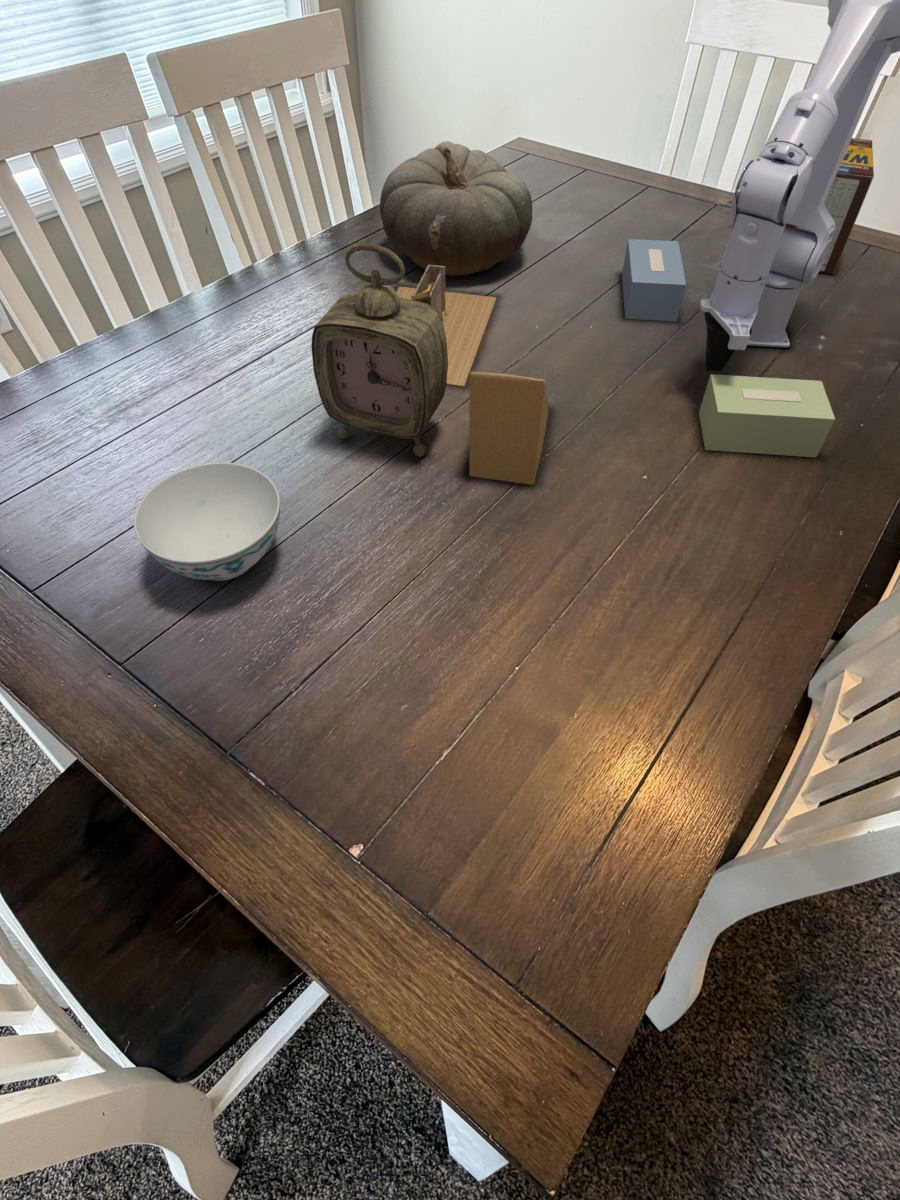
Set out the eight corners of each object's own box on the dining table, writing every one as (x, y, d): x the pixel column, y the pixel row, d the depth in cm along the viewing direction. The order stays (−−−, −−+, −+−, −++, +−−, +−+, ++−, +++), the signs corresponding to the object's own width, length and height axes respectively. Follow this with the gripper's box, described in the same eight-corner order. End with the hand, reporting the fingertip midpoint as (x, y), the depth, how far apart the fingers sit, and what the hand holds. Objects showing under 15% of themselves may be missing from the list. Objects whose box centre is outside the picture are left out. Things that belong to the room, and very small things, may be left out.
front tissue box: (698, 412, 99) (710, 373, 94) (804, 419, 98) (822, 379, 93) (704, 450, 94) (718, 410, 89) (816, 457, 93) (836, 418, 88)
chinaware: (228, 631, 76) (209, 583, 70) (128, 574, 81) (102, 525, 75) (318, 543, 84) (308, 493, 78) (222, 496, 89) (205, 445, 83)
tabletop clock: (325, 442, 95) (293, 251, 76) (354, 403, 101) (331, 215, 81) (428, 467, 92) (422, 274, 73) (453, 425, 98) (453, 235, 78)
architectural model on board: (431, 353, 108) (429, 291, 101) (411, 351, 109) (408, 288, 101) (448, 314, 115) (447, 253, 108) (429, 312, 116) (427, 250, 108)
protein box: (835, 235, 132) (873, 139, 120) (833, 275, 123) (875, 176, 110) (774, 227, 134) (806, 131, 122) (769, 266, 125) (803, 167, 113)
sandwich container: (551, 411, 100) (563, 307, 88) (535, 485, 90) (547, 381, 78) (489, 403, 101) (493, 300, 89) (467, 476, 91) (469, 371, 80)
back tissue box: (621, 274, 123) (628, 237, 118) (669, 277, 122) (678, 240, 118) (624, 319, 114) (632, 280, 109) (676, 321, 114) (686, 283, 109)
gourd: (441, 193, 137) (447, 93, 122) (551, 251, 131) (572, 154, 116) (355, 258, 127) (349, 157, 112) (470, 324, 121) (481, 228, 106)
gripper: (704, 240, 93) (678, 337, 104) (717, 298, 84) (688, 398, 95) (760, 243, 93) (729, 340, 103) (780, 302, 84) (743, 401, 94)
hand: (713, 368), depth 99 cm, fingers closed
